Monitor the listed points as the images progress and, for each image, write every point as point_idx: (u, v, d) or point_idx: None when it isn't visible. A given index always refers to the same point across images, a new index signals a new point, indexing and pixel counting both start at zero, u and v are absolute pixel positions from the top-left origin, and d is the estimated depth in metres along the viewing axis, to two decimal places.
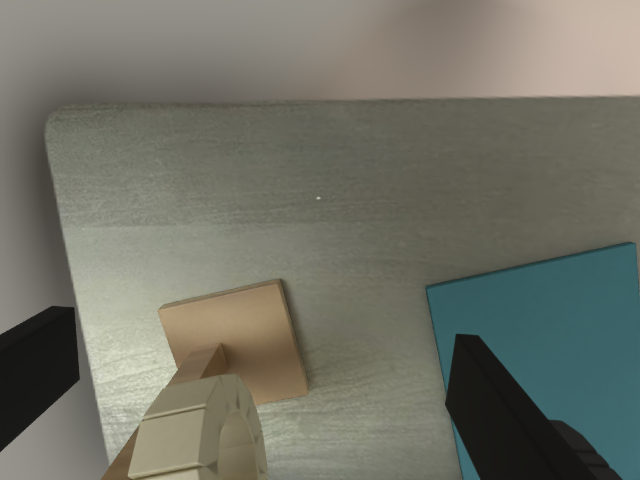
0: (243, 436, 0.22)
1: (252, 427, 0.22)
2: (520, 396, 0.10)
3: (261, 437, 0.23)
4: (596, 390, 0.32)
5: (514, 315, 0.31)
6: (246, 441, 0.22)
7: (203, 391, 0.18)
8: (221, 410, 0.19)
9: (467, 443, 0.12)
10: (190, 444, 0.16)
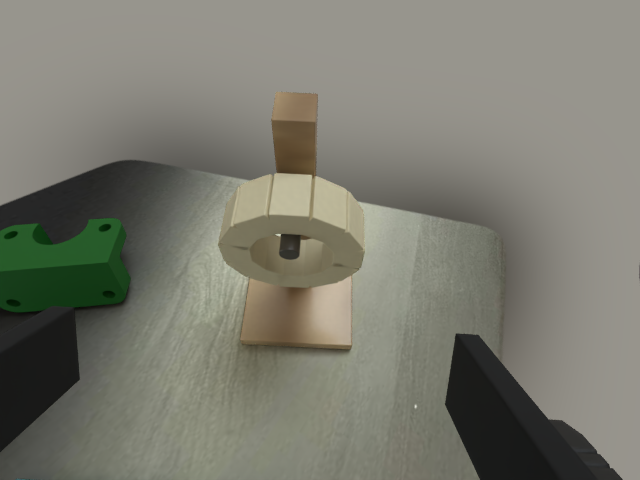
0: (291, 269, 0.27)
1: (292, 278, 0.27)
2: (520, 395, 0.10)
3: (274, 282, 0.28)
4: None
5: None
6: (285, 270, 0.27)
7: None
8: (343, 260, 0.25)
9: (466, 443, 0.12)
10: (354, 232, 0.23)
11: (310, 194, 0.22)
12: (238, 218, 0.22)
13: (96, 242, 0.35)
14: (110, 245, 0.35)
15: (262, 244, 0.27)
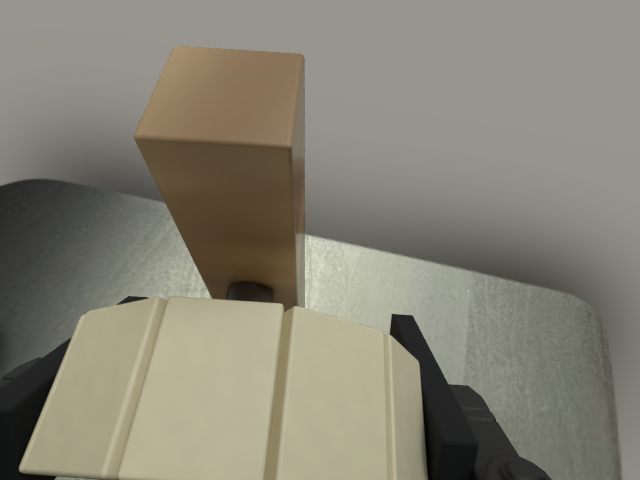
0: None
1: None
2: (429, 363, 0.11)
3: None
4: None
5: None
6: None
7: None
8: None
9: None
10: (408, 472, 0.08)
11: (274, 381, 0.07)
12: (39, 452, 0.07)
13: None
14: None
15: None
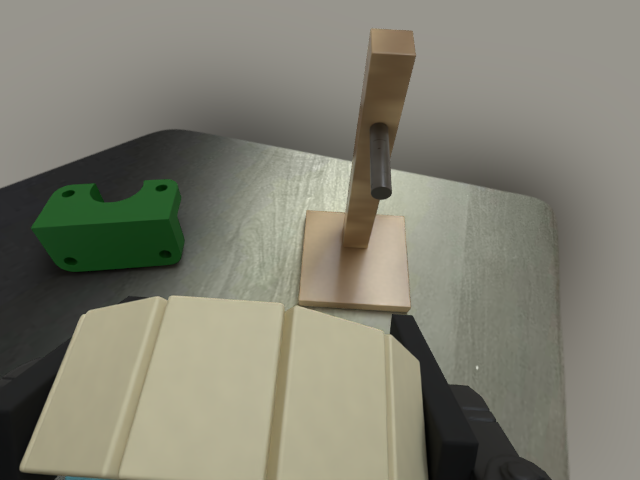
0: None
1: None
2: (429, 364, 0.11)
3: None
4: None
5: None
6: None
7: None
8: None
9: None
10: (409, 472, 0.08)
11: (274, 381, 0.07)
12: (39, 451, 0.07)
13: (154, 200, 0.35)
14: (169, 203, 0.35)
15: None
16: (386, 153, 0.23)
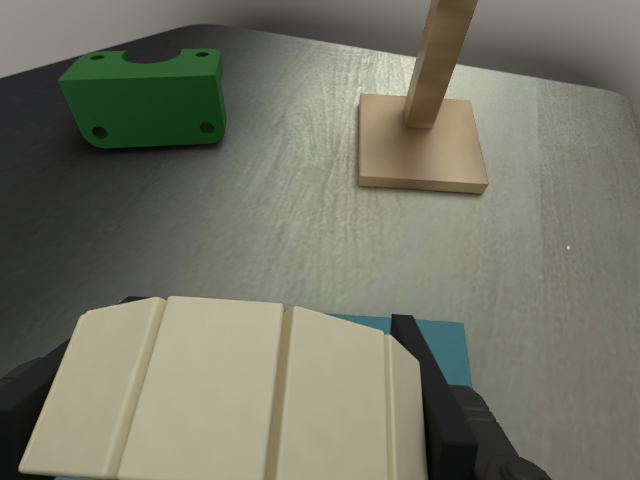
0: None
1: None
2: (429, 363, 0.11)
3: None
4: None
5: None
6: None
7: None
8: None
9: None
10: (409, 472, 0.08)
11: (273, 382, 0.07)
12: (38, 452, 0.07)
13: (196, 62, 0.31)
14: (213, 65, 0.30)
15: None
16: None
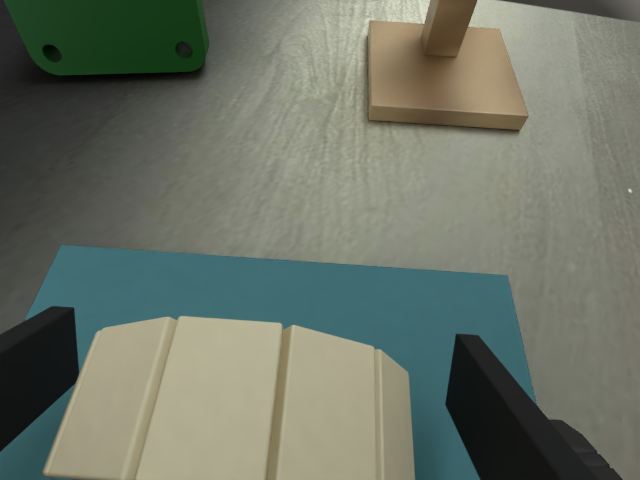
0: None
1: None
2: (520, 396, 0.10)
3: None
4: None
5: (445, 408, 0.16)
6: None
7: None
8: None
9: (467, 443, 0.12)
10: (396, 476, 0.08)
11: (273, 395, 0.07)
12: (62, 457, 0.08)
13: None
14: None
15: None
16: None
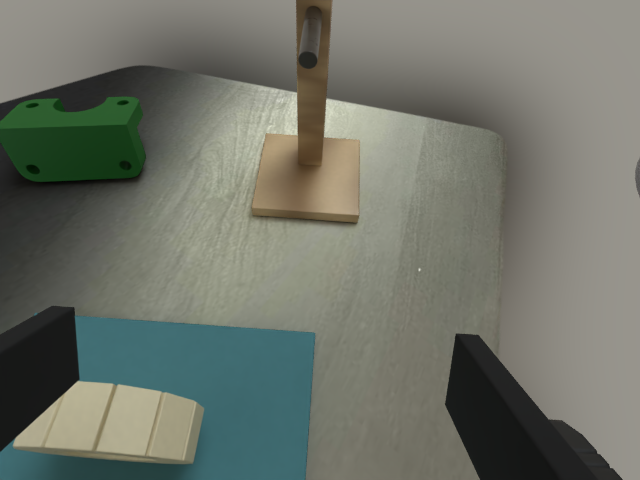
0: None
1: (127, 460, 0.24)
2: (520, 396, 0.10)
3: (111, 459, 0.25)
4: None
5: (255, 417, 0.27)
6: None
7: (190, 452, 0.22)
8: (167, 461, 0.22)
9: (466, 443, 0.12)
10: (163, 448, 0.20)
11: (103, 414, 0.19)
12: (20, 439, 0.19)
13: (114, 111, 0.37)
14: (128, 113, 0.36)
15: None
16: (316, 28, 0.25)
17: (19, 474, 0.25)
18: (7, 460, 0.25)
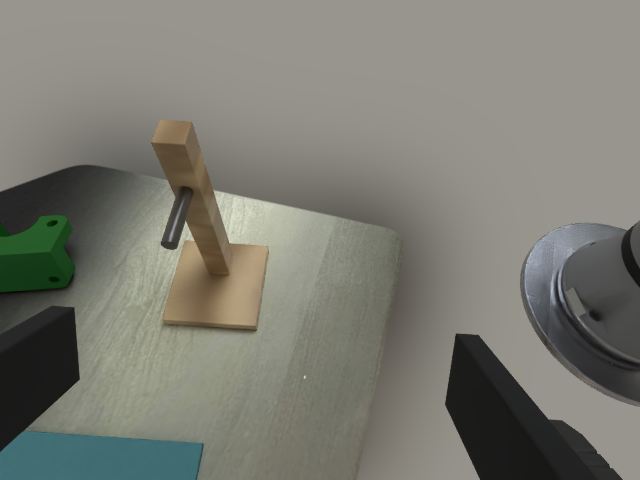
0: None
1: None
2: (520, 396, 0.10)
3: None
4: None
5: None
6: None
7: None
8: None
9: (466, 443, 0.12)
10: None
11: None
12: None
13: (43, 235, 0.42)
14: (54, 238, 0.42)
15: None
16: (180, 213, 0.30)
17: None
18: None
